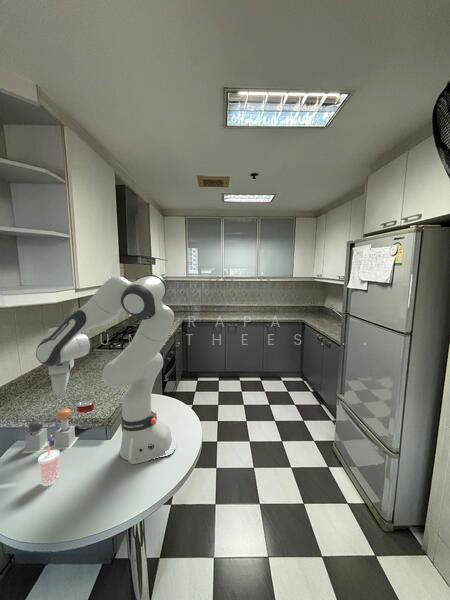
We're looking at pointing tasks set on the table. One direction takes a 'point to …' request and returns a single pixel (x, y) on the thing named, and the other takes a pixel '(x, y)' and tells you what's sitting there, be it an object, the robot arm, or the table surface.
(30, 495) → the table surface
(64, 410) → the knob orange
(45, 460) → the beverage cup
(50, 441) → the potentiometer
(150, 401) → the robot arm
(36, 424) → the knob black
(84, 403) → the soda can
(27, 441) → the mount
